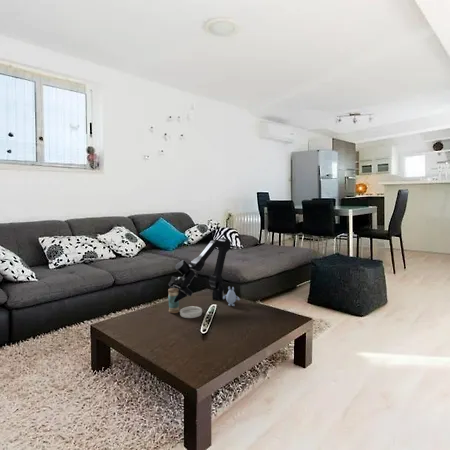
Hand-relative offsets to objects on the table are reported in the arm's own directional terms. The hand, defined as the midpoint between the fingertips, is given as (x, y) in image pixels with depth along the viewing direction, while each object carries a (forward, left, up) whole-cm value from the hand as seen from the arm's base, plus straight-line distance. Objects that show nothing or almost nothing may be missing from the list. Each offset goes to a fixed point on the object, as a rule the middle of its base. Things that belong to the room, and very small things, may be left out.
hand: (171, 300), depth 201 cm
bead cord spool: (-1, -1, -7) cm, 7 cm away
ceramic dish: (-12, +2, -7) cm, 14 cm away
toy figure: (-33, -14, -7) cm, 36 cm away
